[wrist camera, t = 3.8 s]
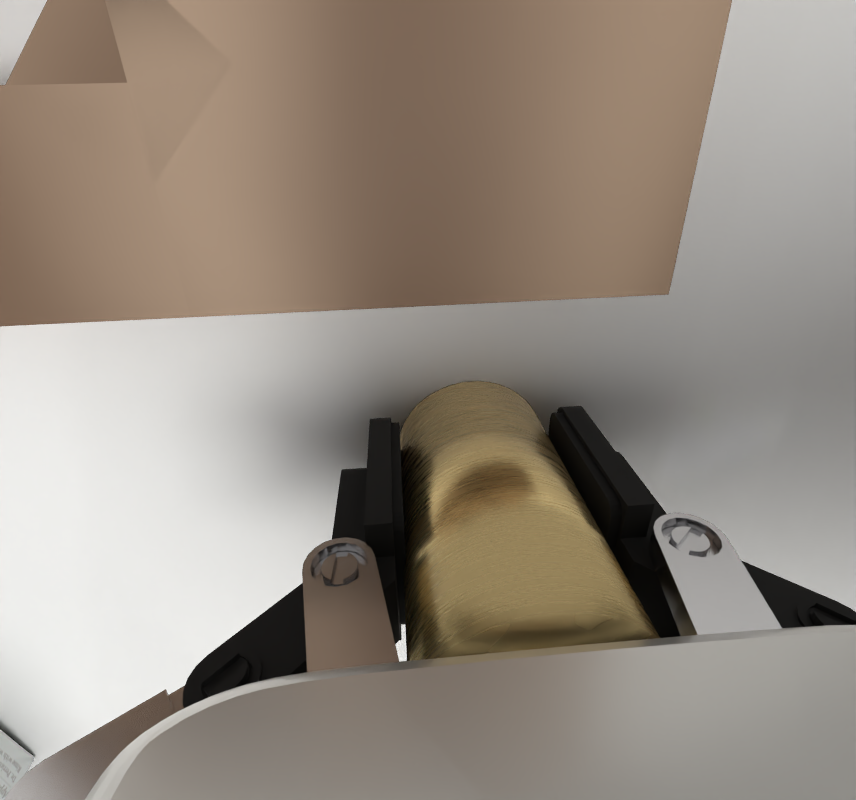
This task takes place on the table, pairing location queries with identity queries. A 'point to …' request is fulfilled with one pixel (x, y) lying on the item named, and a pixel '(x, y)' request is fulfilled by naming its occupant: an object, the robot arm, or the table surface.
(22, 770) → the skincare box
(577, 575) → the brass cylinder
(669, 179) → the jig
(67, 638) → the table surface
